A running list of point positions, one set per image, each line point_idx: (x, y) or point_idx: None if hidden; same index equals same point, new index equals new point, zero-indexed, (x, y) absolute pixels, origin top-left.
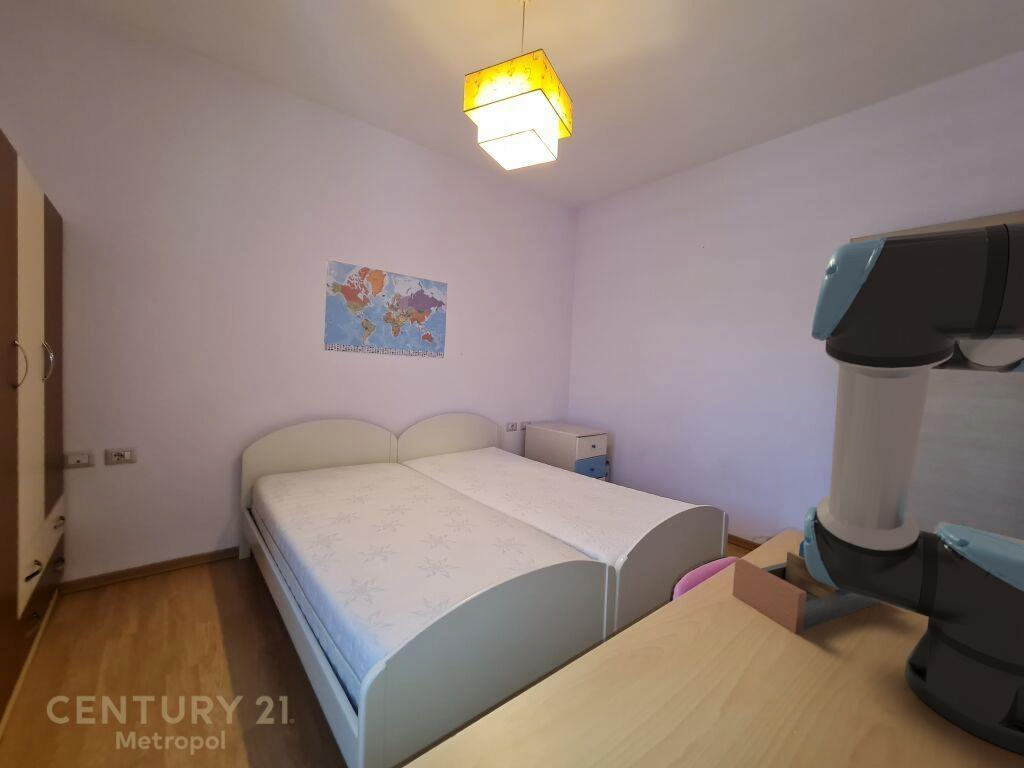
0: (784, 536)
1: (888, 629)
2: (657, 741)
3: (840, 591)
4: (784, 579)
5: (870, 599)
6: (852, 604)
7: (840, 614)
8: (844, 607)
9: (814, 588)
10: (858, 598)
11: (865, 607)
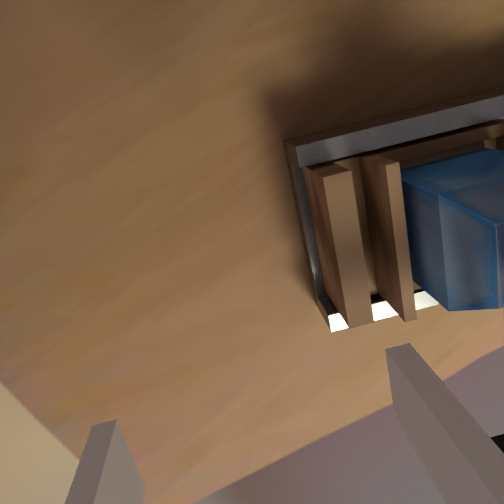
0: (202, 494)
1: (404, 21)
2: None
3: (499, 115)
4: None
5: (343, 128)
6: (439, 105)
7: (485, 91)
8: (479, 95)
9: None
10: (416, 113)
11: (359, 122)
